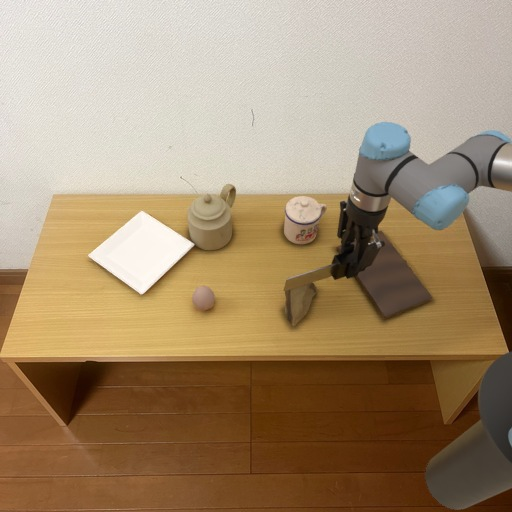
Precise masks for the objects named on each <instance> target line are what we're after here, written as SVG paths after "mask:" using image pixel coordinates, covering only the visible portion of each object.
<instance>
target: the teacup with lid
mask: <svg viewBox="0 0 512 512" xmlns="http://www.w3.org/2000/svg"><path fill="white" fill-rule="evenodd" d="M326 211H327V205H326V204H325V203H319V202H318V200H316V199H315V198H313V197H310V196H306V195H298V196H295V197H292V198H291V199H289V200H288V202H287V203H286V204H285V207H284V213H285V214H284V215H285V216H284V223H283V226H284V227H283V233H284V236H285V238H286V239H287V240H288V241H289V242H291V243H292V244H296V245H306V244H310V243H311V242H313V241H314V240H315V239H316V237H317V235H318V230H319V224H320V219H321V218H322V217H323V216H324V215H325V213H326Z"/></svg>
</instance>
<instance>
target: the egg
mask: <svg viewBox="0 0 512 512" xmlns="http://www.w3.org/2000/svg"><path fill="white" fill-rule="evenodd" d="M194 289H195V290H193V292H192V296H191V301H192V304H193V306H194V307H195V308H196V309H197V310H199V311H208V310H210V309H211V308H212V307H213V306H214V304H215V302H216V295H215V293H214V291H213V290H212V289H211V288H210V287H209V286H207V285H199V286H198V287H196V288H194Z"/></svg>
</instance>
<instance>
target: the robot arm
mask: <svg viewBox="0 0 512 512" xmlns="http://www.w3.org/2000/svg"><path fill="white" fill-rule="evenodd" d="M411 142H412V137H411V134H410V133H409V132H408V129H406V128H405V127H404V126H402V125H401V124H399V123H396V122H392V121H381V122H377V123H374V124H372V125H371V126H369V128H367V129H366V131H365V133H364V136H363V139H362V142H361V145H360V147H359V149H358V155H357V161H356V167H355V171H354V174H353V177H352V182H351V186H350V189H349V194H348V197H347V199H345V200H341V201H340V202H339V209H340V211H339V218H338V225H337V230H336V236H337V238H338V239H340V245H342V246H341V249H340V252H341V253H344V252H348V251H351V250H354V248H355V253H354V259H351V260H350V264H349V267H348V270H347V274H346V277H345V278H346V279H347V280H349V279H351V278H355V276H357V275H358V273H359V271H361V270H362V269H364V268H366V267H369V266H371V265H372V263H373V261H374V260H375V258H376V256H377V254H378V252H379V250H380V248H382V247H383V246H385V242H384V241H383V240H381V241H380V240H379V238H378V236H377V233H378V231H379V225H380V224H381V223H382V222H383V220H384V219H385V217H386V214H387V211H388V208H389V205H390V202H391V200H392V199H393V200H394V201H395V202H397V203H398V204H399V205H400V206H402V207H403V208H404V209H405V210H407V212H409V213H410V214H411V215H412V216H413V217H414V218H415V219H417V220H418V221H421V222H422V223H423V224H424V225H427V226H428V227H429V228H431V229H432V230H434V231H442V230H443V231H444V230H445V229H447V228H449V227H450V226H451V225H452V224H453V223H454V222H455V221H456V220H458V219H459V217H461V216H462V214H463V213H464V211H465V210H466V208H467V207H468V206H469V202H470V193H472V192H473V191H475V190H476V189H477V188H479V187H486V188H490V189H496V190H500V191H501V190H502V191H506V192H510V193H512V140H511V138H510V137H509V136H508V135H505V134H504V133H503V132H502V131H500V130H495V129H488V130H484V131H482V132H480V133H478V134H476V135H474V136H470V137H469V138H468V139H466V140H465V141H464V142H462V143H461V144H459V145H458V146H456V147H454V148H453V149H452V150H450V151H449V152H447V153H445V154H443V155H442V156H441V157H438V159H435V160H434V161H432V162H431V163H429V164H428V163H427V162H426V161H424V160H423V159H421V158H420V157H418V156H417V155H415V153H414V152H412V151H410V149H411ZM370 239H371V241H370ZM355 240H356V241H355ZM353 242H356V247H355V245H354V244H351V243H353ZM508 438H509V442H510V444H511V446H512V428H511V429H510V430H509V433H508Z"/></svg>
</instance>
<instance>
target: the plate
mask: <svg viewBox="0 0 512 512" xmlns="http://www.w3.org/2000/svg"><path fill="white" fill-rule="evenodd" d="M194 246H195V244H194V243H193V242H192V240H189V239H187V238H186V237H185V236H183V235H181V234H180V233H179V232H177V231H175V230H173V229H172V228H170V227H169V226H167V225H166V224H164V223H163V222H161V221H159V220H158V219H156V218H154V216H151V215H150V214H148V213H147V212H145V211H144V210H139V212H138V213H137V214H135V215H134V216H133V217H132V218H131V219H129V220H128V221H127V222H126V223H124V224H123V225H122V226H121V227H120V228H119V229H117V230H116V231H115V232H114V233H112V234H111V235H110V236H108V238H107V239H105V240H104V241H103V242H101V244H100V245H98V246H97V247H96V248H95V249H94V250H92V251H91V252H89V254H88V255H87V256H88V258H90V259H92V260H93V261H94V262H95V263H97V264H98V265H100V266H101V267H102V268H104V269H105V270H106V271H108V272H109V273H110V274H112V275H114V276H115V277H116V278H118V279H119V280H120V281H122V282H123V283H124V284H126V285H127V286H129V287H130V288H131V289H133V290H134V291H135V292H137V293H138V294H140V295H144V294H145V293H146V292H147V291H148V290H149V289H150V288H151V287H152V286H153V285H154V284H156V283H157V281H159V280H160V279H161V278H162V277H163V276H164V275H165V274H166V273H167V272H168V271H169V270H170V269H171V268H172V267H173V266H174V265H175V264H177V262H179V261H180V260H181V259H182V257H184V256H185V255H186V254H187V253H188V252H189V251H190V250H191V249H192V248H193V247H194Z"/></svg>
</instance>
